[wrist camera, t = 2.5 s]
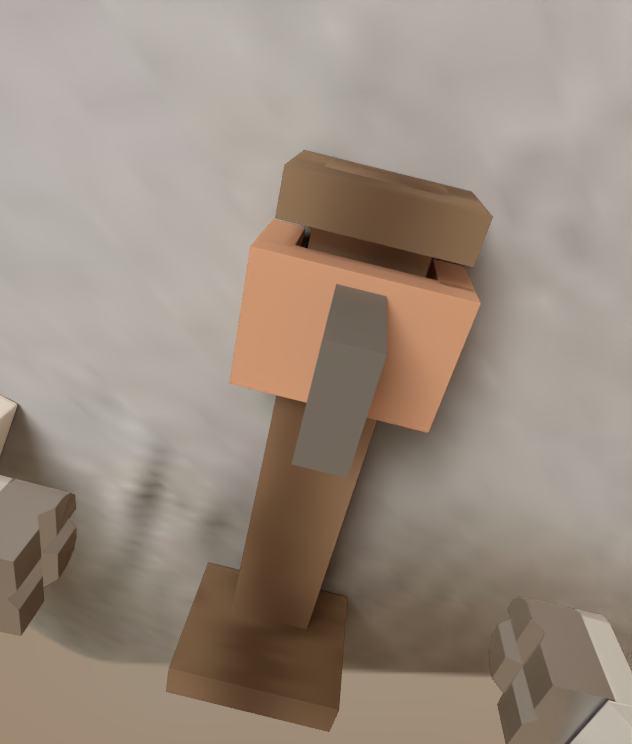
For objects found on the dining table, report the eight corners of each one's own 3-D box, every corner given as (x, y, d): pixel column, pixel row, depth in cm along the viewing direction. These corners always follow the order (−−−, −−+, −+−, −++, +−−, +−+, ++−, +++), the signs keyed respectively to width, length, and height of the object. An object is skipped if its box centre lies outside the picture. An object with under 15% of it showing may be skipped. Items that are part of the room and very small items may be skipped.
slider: (464, 266, 19) (508, 364, 12) (421, 380, 21) (438, 514, 15) (273, 219, 19) (211, 291, 12) (252, 339, 21) (192, 453, 15)
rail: (499, 198, 18) (547, 244, 13) (339, 618, 30) (329, 731, 24) (275, 143, 18) (231, 165, 13) (204, 585, 30) (165, 691, 24)
